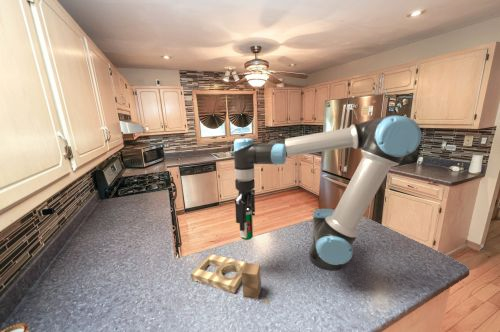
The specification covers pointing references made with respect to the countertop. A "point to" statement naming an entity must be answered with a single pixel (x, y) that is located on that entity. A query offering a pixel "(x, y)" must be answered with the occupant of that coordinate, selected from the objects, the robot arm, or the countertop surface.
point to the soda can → (249, 224)
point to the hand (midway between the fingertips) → (246, 233)
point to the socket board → (220, 273)
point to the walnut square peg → (251, 280)
